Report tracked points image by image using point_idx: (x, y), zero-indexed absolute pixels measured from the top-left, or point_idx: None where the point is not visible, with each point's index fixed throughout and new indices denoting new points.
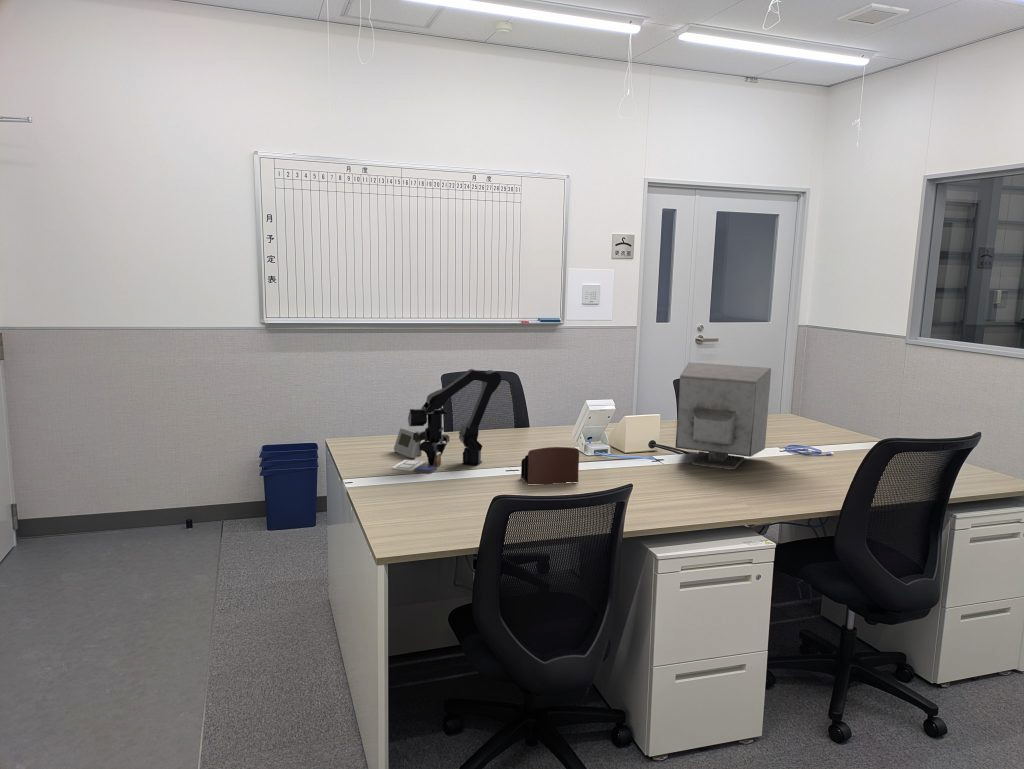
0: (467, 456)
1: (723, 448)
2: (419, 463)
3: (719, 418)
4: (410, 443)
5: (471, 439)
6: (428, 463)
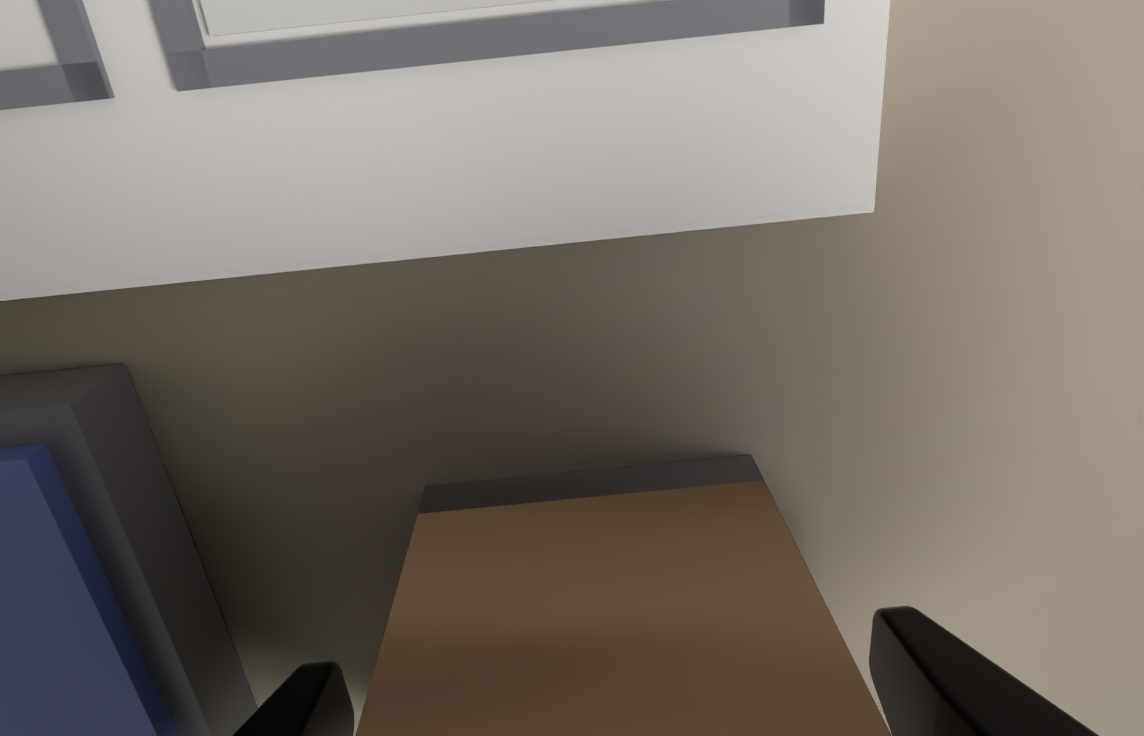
0: None
1: None
2: (475, 130)
3: None
4: None
5: None
6: (408, 580)
